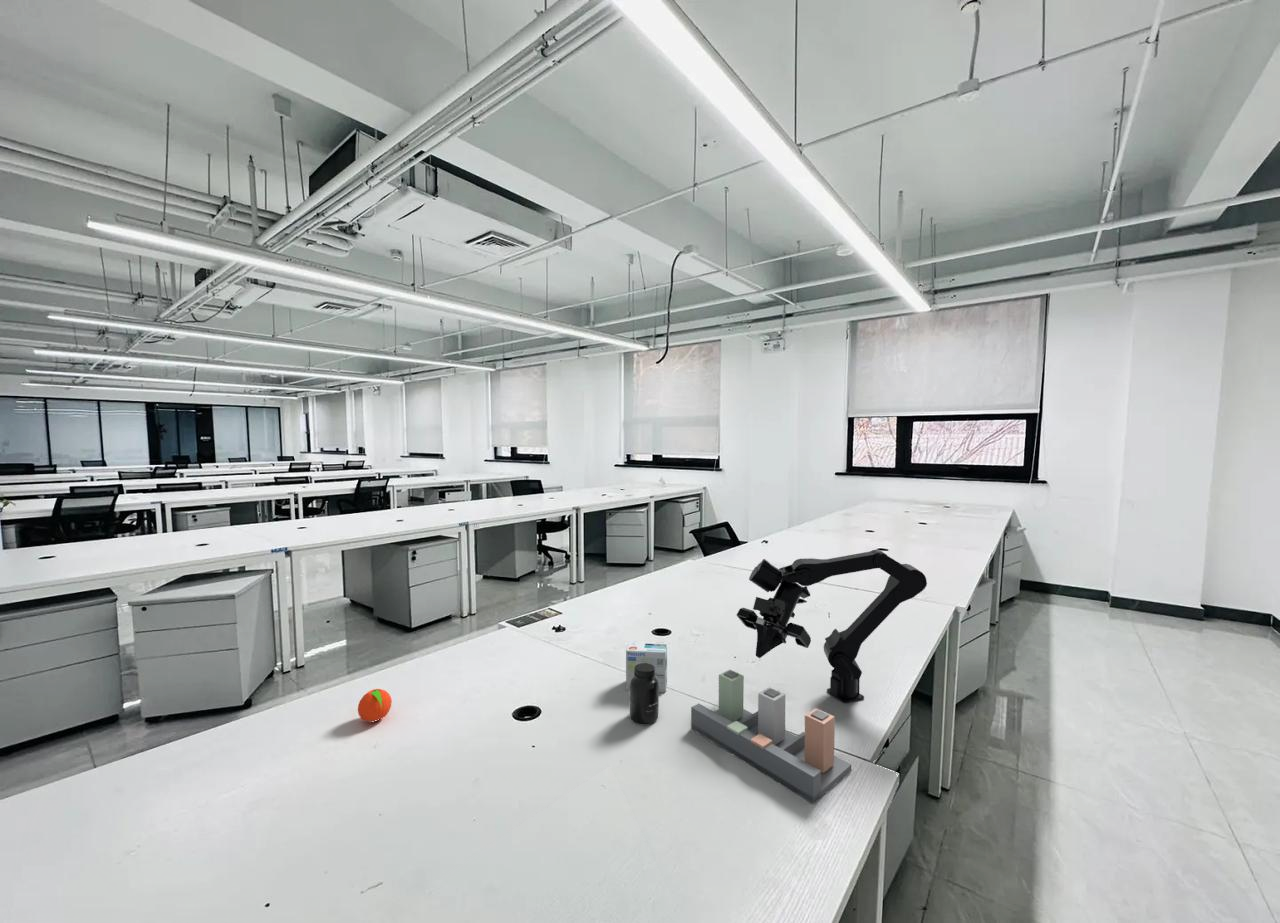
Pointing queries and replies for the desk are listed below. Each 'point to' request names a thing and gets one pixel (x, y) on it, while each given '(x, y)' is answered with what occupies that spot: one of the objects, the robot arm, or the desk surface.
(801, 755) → the block sorting stand
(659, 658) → the light bulb box
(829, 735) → the peach tall block
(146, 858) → the desk surface
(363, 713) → the clementine
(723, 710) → the pale green tall block
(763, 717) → the grey block
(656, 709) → the supplement bottle
